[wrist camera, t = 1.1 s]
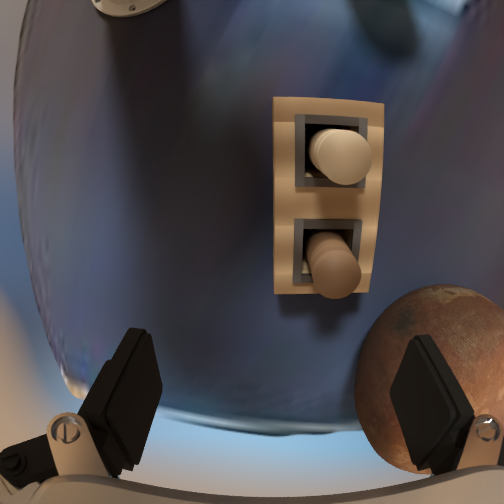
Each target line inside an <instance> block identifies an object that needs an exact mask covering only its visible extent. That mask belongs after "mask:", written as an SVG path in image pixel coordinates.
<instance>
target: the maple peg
mask: <svg viewBox="0 0 504 504" xmlns="http://www.w3.org/2000/svg"><path fill="white" fill-rule="evenodd" d="M307 153H308V157H309V159H310V161H311V163H312V164H313V165H314V166H315V167H316V168H318V169H319V170H320V171H321V172H322V173H323V174H324V175H326V176H327V177H328V178H329V179H330V180H332V181H333V182H335V183H338V184H342V185H350V184H354V183H357V182H359V181H360V180H362V179H363V178H364V177H365V176H366V175H367V174H368V172H369V170H370V168H371V165H372V151H371V148H370V146H369V144H368V142H367V141H366V140H365V139H364V138H363V137H362V136H361V135H360V134H358V133H356V132H353V131H349V130H339V129H322V130H319V131H317V132H316V133H315V134H313V136H312V137H311V138H310V140H309V142H308V146H307Z"/></svg>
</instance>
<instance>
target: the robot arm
mask: <svg viewBox="0 0 504 504" xmlns="http://www.w3.org/2000/svg"><path fill="white" fill-rule="evenodd" d="M91 1H92V3H93V5H94V6H95V7H96V8H97V9H98V10H99V11H101V12H103V13H104V14H107V15H110V16H113V17H131V16H136V15H139V14H142V13H145V12H148V11H150V10H152V9H154V8H156V7H158V6H159V5H161V4H162V3H164V2H165V1H167V0H91ZM134 9H135V10H134ZM161 394H162V381H161V377H160V373H159V369H158V364H157V360H156V356H155V351H154V346H153V341H152V337H151V334H147V332H146V330H145V329H138V328H129V329H128V331H127V332H126V334H125V336H124V338H123V339H122V341H121V343H120V345H119V346H118V348H117V350H116V352H115V353H114V355H113V357H112V359H111V360H108V361H106V362H105V364H104V365H103V367H102V369H101V371H100V373H99V374H98V376H97V378H96V380H95V382H94V383H93V385H92V387H91V389H90V391H89V393H88V395H87V396H86V398H85V400H84V402H83V404H82V406H81V408H80V410H79V412H78V414H75V413H69V412H66V413H61V414H59V415H57V416H55V417H54V418H53V419H52V420H51V421H50V422H49V424H48V427H47V434H44V435H41V436H39V437H36V438H33V439H30V440H27V441H25V442H22V443H19V444H16V445H13V446H10V447H7V448H6V449H4V450H3V451H2V452H1V453H0V504H504V436H503V434H504V430H503V426H502V424H501V423H500V421H499V420H498V419H497V418H496V417H494V416H492V415H488V414H481V415H479V416H477V417H475V415H474V412H475V411H474V410H473V408H472V406H471V404H470V402H469V400H468V398H467V396H466V395H465V393H464V391H463V389H462V387H461V386H460V384H459V382H458V380H457V379H456V377H455V375H454V373H453V372H452V370H451V368H450V366H449V365H448V363H447V361H446V360H445V358H444V356H443V355H442V353H441V351H440V350H439V348H438V346H437V345H436V343H435V342H434V340H433V338H432V337H431V336H430V335H429V334H424V335H415V336H414V337H413V339H411V340H410V341H409V343H408V345H407V348H406V351H405V353H404V356H403V359H402V361H401V364H400V366H399V369H398V371H397V373H396V376H395V378H394V380H393V383H392V385H391V387H390V393H389V394H390V398H391V401H392V404H393V407H394V410H395V413H396V416H397V419H398V421H399V424H400V427H401V430H402V433H403V437H404V440H405V443H406V446H407V449H408V452H409V455H410V459H411V462H412V464H413V465H416V467H417V471H421V470H425V469H429V468H430V469H431V472H432V473H431V476H430V477H429V478H425V479H421V480H417V481H412V482H408V483H403V484H399V485H394V486H389V487H383V488H378V489H372V490H366V491H358V492H351V493H342V494H333V495H322V496H306V497H242V496H227V495H215V494H205V493H197V492H189V491H182V490H176V489H169V488H163V487H157V486H152V485H147V484H142V483H137V482H132V481H127V480H122V479H120V477H119V475H120V474H121V472H122V469H126V470H129V471H133V467H134V464H135V465H138V464H139V462H140V460H141V456H142V453H143V450H144V447H145V443H146V440H147V437H148V434H149V431H150V428H151V424H152V421H153V418H154V415H155V412H156V409H157V406H158V403H159V400H160V397H161Z"/></svg>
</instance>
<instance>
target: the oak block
mask: <svg viewBox="0 0 504 504" xmlns="http://www.w3.org/2000/svg"><path fill="white" fill-rule="evenodd" d="M272 123H273V277H274V294H317V293H319V292H318V291H317V289H316V288H315V285H314V282H313V278H312V274H311V271H310V267H309V263H308V260H307V256H306V253H305V251H302V250H303V229H338V233H340V235H341V236H342V238H343V239H344V241H345V243H346V244H347V246H348V247H349V249H350V251H351V252H352V254H353V256H354V257H355V259H356V261H357V262H358V264H359V266H360V268H361V281H360V283H359V285H358V287H357V288H356V289H355V291H353V292H352V293H358V292H368V291H369V285H370V279H371V272H372V266H373V259H374V251H375V244H376V235H377V227H378V217H379V207H380V195H381V182H382V166H383V143H384V104H382V103H373V102H364V101H354V100H342V99H327V98H307V97H273V100H272ZM305 123H309V124H332V125H343V130H349V131H353V132H356V133H358V134H360V135H361V136H362V137H363V138H364V139H365V140H366V141H367V142H368V144H369V146H370V148H371V151H372V165H371V168H370V170H369V172H368V174H367V175H366V176H365V177H364V178H363V179H362V180H360V181H359V182H357V183H354V184H350V185H342V184H338V183H335V182H333V181H332V180H330V179H329V178H328V177H327V176H326V175H324V174H323V173H322V172H321V171H320V170H319V169H305Z"/></svg>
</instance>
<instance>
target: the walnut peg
mask: <svg viewBox="0 0 504 504" xmlns="http://www.w3.org/2000/svg"><path fill="white" fill-rule="evenodd" d="M305 253H306V256H307V260H308V263H309V267H310V271H311V274H312V278H313V282H314V285H315V288H316V289H317V291H318V292H319V293H320V294H321V295H323V296H324V297H327V298H331V299H339V298H343V297H346V296H348V295H350V294H351V293H352V292H353V291H355V289H356V288H357V287H358V285H359V283H360V281H361V268H360V266H359V264H358V262H357V261H356V259H355V257H354V256H353V254H352V252H351V251H350V249H349V247H348V246H347V244H346V243H345V241H344V239H343V238H342V236H341V235H340V233H338V232H337V231H336V230H334V229H317V230H315V231H313V232H312V233H311V234H310V235H309V236H308V238H307V240H306V242H305Z"/></svg>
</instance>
